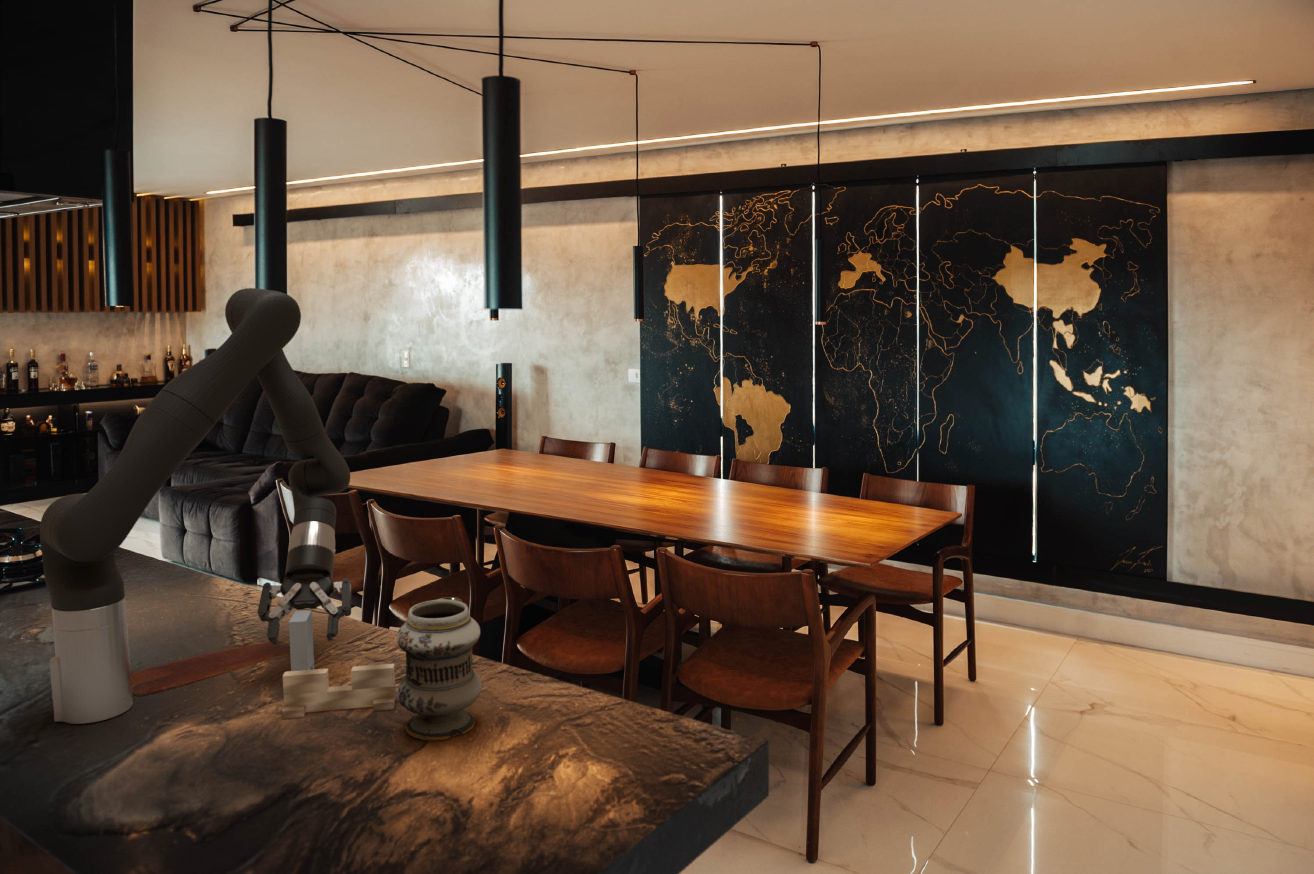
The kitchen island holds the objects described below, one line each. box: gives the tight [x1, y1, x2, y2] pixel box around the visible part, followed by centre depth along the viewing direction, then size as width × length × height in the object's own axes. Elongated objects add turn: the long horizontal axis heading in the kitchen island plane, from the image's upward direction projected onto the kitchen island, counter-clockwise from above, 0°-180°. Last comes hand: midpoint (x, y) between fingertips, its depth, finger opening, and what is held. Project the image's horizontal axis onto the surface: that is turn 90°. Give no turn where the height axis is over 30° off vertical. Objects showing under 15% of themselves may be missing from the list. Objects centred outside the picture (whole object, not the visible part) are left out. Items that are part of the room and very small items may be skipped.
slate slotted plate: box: [288, 609, 315, 671], centre depth 138 cm, size 2×5×12 cm, turn 13°
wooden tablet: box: [131, 640, 290, 697], centre depth 147 cm, size 27×10×2 cm, turn 139°
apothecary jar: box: [396, 599, 483, 742], centre depth 124 cm, size 12×12×18 cm
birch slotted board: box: [281, 663, 397, 720], centre depth 131 cm, size 16×5×6 cm, turn 102°
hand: (302, 640), depth 138 cm, fingers open, 8 cm apart
